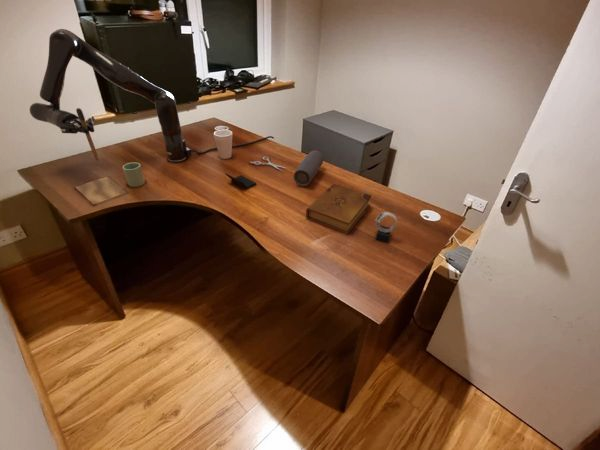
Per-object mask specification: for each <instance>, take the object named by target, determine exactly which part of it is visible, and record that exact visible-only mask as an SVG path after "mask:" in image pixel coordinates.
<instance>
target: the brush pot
mask: <svg viewBox="0 0 600 450" xmlns="http://www.w3.org/2000/svg"><path fill="white" fill-rule="evenodd" d="M122 171H123V174H124V177H125V180H126V183H127V186H128V187H133V188H134V187H141V186H142V185H144V184H145V183H146V179H145V176H144V172H143V169H142V165H141V163H139V162H136V161H134V162H133V161H132V162H127V163H125V164H124V165H122Z"/></svg>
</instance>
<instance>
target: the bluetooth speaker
mask: <svg viewBox="0 0 600 450" xmlns="http://www.w3.org/2000/svg"><path fill="white" fill-rule="evenodd" d="M324 157H325V156H324V155H323V153H322V152H321V151H319V150H317V149H313V150H312V151H310V152H309V153H308V154H307V155H306V156H305V157H304V158H303V159H302V161H301V162H300V163H299V165H298V166H297V168H296V169H295V171H294V174H293V180H294V182H295V183H296V184H297V185H299V186H301V187H305V186H308V185H309V184H310V183H311V182H312V181H313V179H314V178H315V177H316V175H317V174H318V173H319V171H320V169H321V167H322V165H323V164H324V160H325V158H324Z"/></svg>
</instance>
